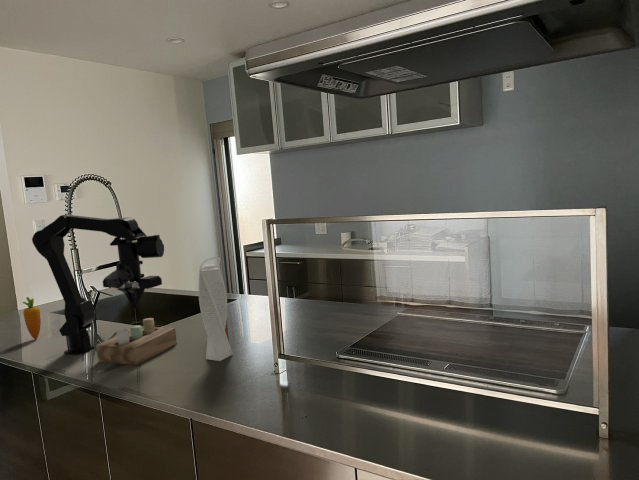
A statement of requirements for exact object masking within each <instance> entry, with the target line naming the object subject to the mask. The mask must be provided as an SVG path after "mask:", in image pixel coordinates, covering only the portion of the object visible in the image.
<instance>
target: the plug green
mask: <svg viewBox="0 0 639 480" xmlns="http://www.w3.org/2000/svg"><path fill="white" fill-rule="evenodd" d="M142 327H143V325H134V326H131V327H130V330H131V337H132V339H139V338H141V337H143V333H142ZM130 330H129V331H130Z"/></svg>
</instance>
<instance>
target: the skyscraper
mask: <svg viewBox="0 0 639 480" xmlns="http://www.w3.org/2000/svg"><path fill="white" fill-rule="evenodd" d="M212 260H218V262H217V265H215V264H214V263H208V264H206V263H207V262H208V261H212ZM221 261H222V260H221V257H218V256H215V257H210V258H207V259H205V260H204V261H203V262H202V263H201V264H200V266H199V273H198V301H199V302H198V303H199V308H200V315H201V319H202V322H203V325H204V328H205V332H206V334H207V336H206V337H207V340H206V351H205V360H211V361H217V362H221V361H222V360H225V359H226V358H229V357H231V356H233V355H234V354H233V353H234V352H233V350H232V348H231V345H230V340H229V341H228V338H227V335H226V332H225V326H226V319H227V320H228V318H227V317H228V297H227V290H226V286H225V281H224V278H223V274H222V271H221V267H220V263H221Z"/></svg>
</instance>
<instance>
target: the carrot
mask: <svg viewBox="0 0 639 480" xmlns="http://www.w3.org/2000/svg"><path fill="white" fill-rule="evenodd" d="M26 300H27V302H26V301H22V304H25V305H26V306H28V307H27V308H24V310H22V313H23V319H24V323H25V326H26V330H27V331H28V333H29V335H30V336H31V337H32V339H34V340H37V339H38V338H39V335H40V332H41V323H42V322H41V311H40V308H39V307H37V306H34V298H32V297H31V299H30V297H28V296H27V297H26Z"/></svg>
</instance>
